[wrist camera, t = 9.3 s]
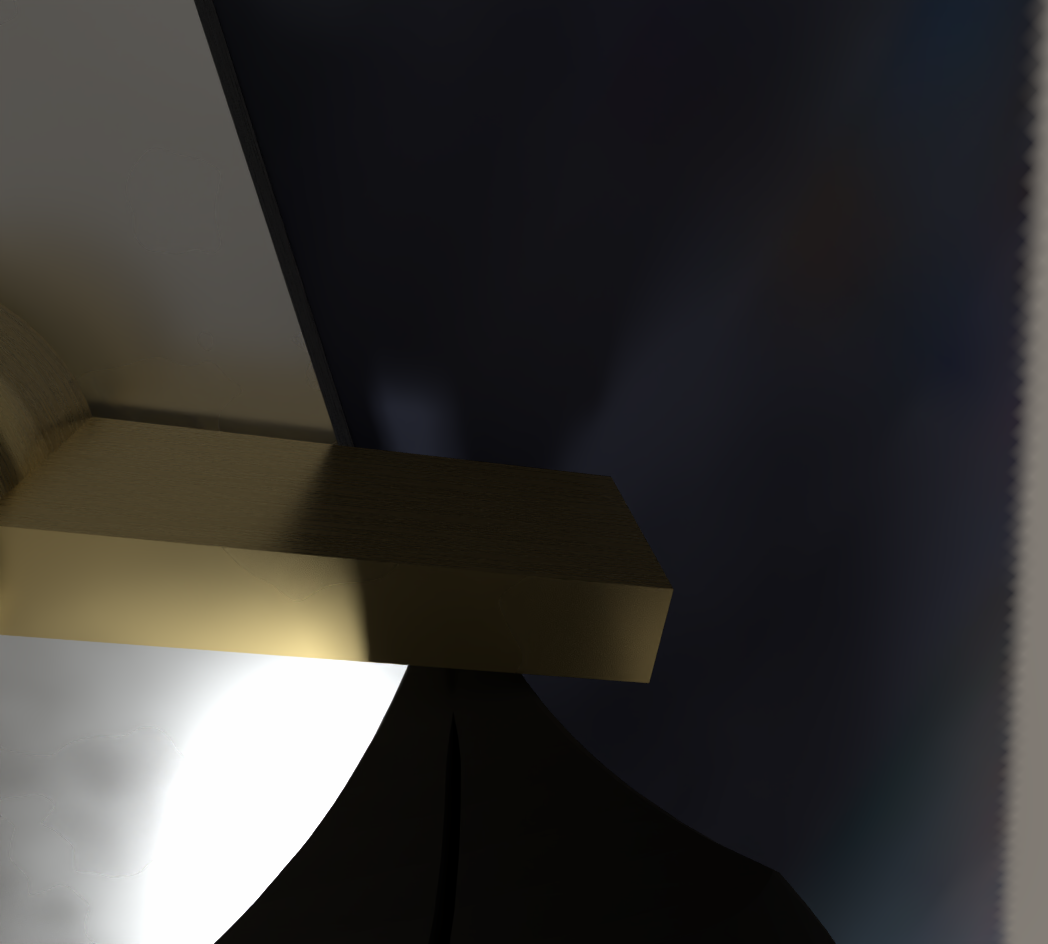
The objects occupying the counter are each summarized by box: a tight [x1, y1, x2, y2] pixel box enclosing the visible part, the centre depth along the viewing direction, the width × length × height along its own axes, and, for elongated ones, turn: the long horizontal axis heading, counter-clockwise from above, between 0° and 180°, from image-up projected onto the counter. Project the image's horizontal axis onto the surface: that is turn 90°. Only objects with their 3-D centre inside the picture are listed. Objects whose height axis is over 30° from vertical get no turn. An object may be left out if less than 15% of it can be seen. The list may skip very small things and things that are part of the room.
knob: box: [0, 303, 673, 683], centre depth 10 cm, size 11×4×4 cm, turn 80°
